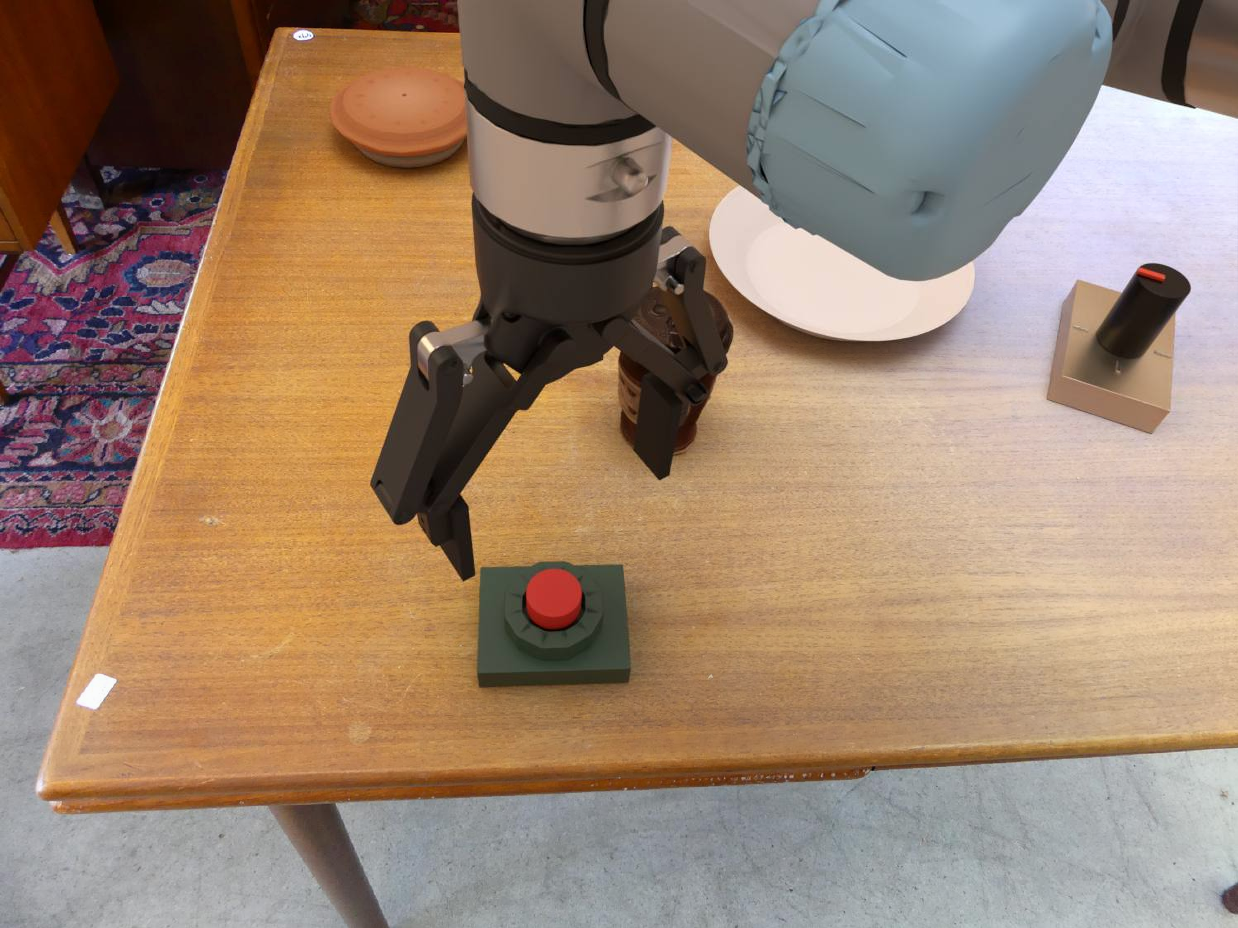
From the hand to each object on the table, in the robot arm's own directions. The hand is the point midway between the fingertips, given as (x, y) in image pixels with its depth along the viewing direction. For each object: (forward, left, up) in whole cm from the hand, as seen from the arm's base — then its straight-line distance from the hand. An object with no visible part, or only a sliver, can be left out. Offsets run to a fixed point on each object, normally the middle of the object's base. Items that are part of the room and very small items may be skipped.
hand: (558, 509), depth 52 cm
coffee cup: (+11, -17, -15) cm, 25 cm away
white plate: (+18, -43, -15) cm, 49 cm away
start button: (0, 0, -11) cm, 11 cm away
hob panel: (-4, -57, -15) cm, 59 cm away
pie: (+58, -18, -15) cm, 62 cm away
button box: (0, 0, -15) cm, 15 cm away
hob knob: (-4, -57, -11) cm, 58 cm away
